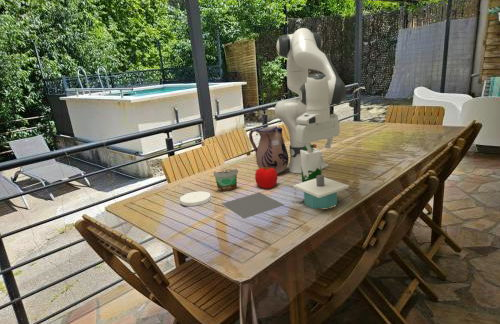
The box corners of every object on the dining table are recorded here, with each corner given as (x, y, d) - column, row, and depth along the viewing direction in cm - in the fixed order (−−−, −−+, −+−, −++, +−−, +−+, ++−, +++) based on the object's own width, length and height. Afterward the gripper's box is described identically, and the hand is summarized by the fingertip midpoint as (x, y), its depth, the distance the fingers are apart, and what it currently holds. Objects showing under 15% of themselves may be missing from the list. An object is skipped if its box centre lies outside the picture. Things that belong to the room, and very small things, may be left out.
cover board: (321, 178, 154) (321, 167, 152) (348, 187, 140) (348, 176, 139) (293, 187, 146) (292, 176, 145) (319, 197, 133) (318, 185, 131)
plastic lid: (174, 203, 160) (174, 198, 159) (199, 194, 169) (198, 189, 168) (192, 210, 150) (191, 205, 149) (217, 200, 159) (216, 195, 158)
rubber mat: (259, 193, 162) (259, 192, 162) (284, 205, 145) (284, 204, 145) (221, 204, 153) (221, 203, 152) (244, 219, 136) (243, 218, 136)
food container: (217, 194, 165) (215, 174, 163) (215, 190, 171) (212, 171, 168) (242, 190, 168) (240, 170, 165) (239, 186, 174) (237, 167, 171)
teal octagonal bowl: (321, 194, 154) (321, 180, 152) (343, 203, 143) (343, 187, 141) (298, 202, 147) (298, 187, 145) (319, 212, 136) (319, 196, 134)
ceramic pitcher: (287, 177, 181) (284, 130, 175) (248, 177, 186) (244, 132, 179) (290, 167, 198) (288, 124, 191) (254, 167, 202) (251, 125, 196)
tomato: (260, 192, 163) (258, 172, 160) (252, 184, 175) (251, 165, 172) (282, 188, 166) (281, 168, 163) (273, 180, 177) (272, 161, 175)
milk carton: (316, 182, 169) (315, 143, 164) (325, 188, 161) (323, 147, 155) (299, 185, 167) (297, 145, 162) (307, 191, 159) (305, 149, 153)
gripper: (331, 112, 143) (332, 144, 146) (292, 119, 133) (294, 154, 137) (343, 113, 137) (343, 146, 141) (303, 121, 128) (304, 157, 131)
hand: (319, 150), depth 139 cm, fingers open, 8 cm apart
